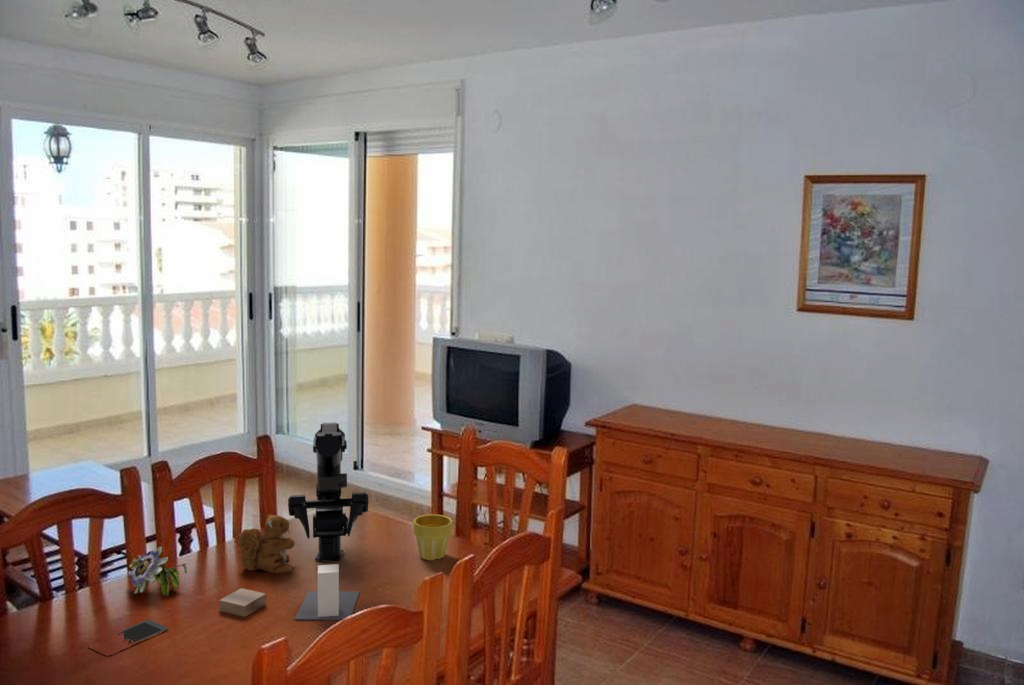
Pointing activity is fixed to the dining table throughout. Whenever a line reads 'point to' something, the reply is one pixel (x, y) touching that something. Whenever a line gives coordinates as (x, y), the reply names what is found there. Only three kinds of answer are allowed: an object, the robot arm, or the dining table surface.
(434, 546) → the plant pot
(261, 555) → the stuffed squirrel
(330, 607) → the cream pillar
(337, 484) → the robot arm
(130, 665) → the dining table surface
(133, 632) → the cell phone
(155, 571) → the passion flower
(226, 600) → the grey square slab
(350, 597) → the charcoal mat
